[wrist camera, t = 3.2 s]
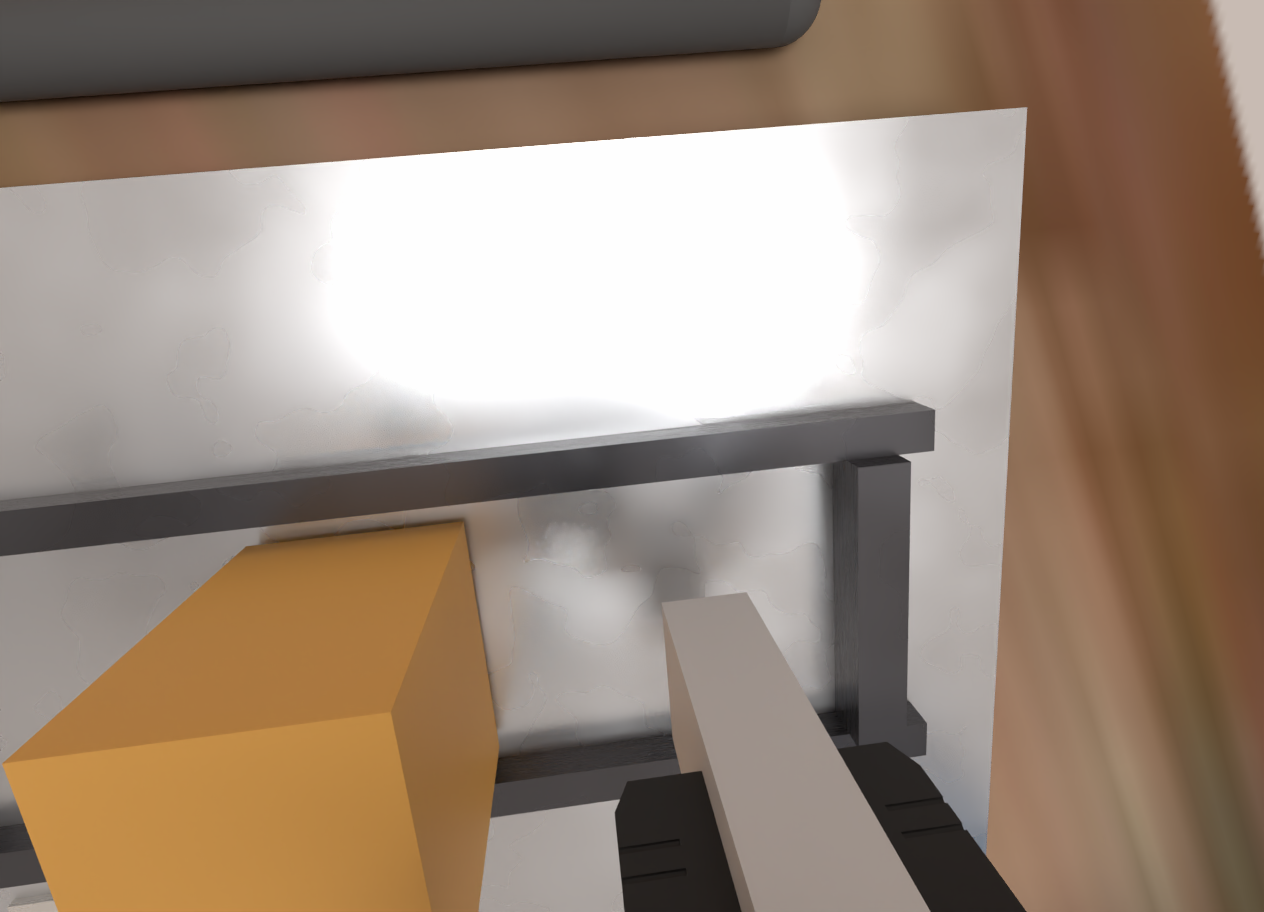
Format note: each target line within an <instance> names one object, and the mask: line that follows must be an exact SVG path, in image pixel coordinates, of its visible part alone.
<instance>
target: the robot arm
mask: <svg viewBox="0 0 1264 912" xmlns="http://www.w3.org/2000/svg"><path fill="white" fill-rule="evenodd" d="M661 604H662V616H663V628H664V640H665V652H666V664H667V676H668V688H669V701H670V713H671V725H672V737H673V742H674V746H675V750H676V754H677V759H678V763H679V767H680V771H681V774H675V775H668V776H661V777H654V778H647V779H640V780H633V781H627V783H626V786H625V788H624V791H623V793H622V796H621V798H620V801H619V803H618V805H617V808H616V810H615V823H616V833H617V843H618V852H619V862H620V872H621V882H622V892H623V902H624V912H1026V910H1025V909H1024V908H1023V906H1022V905H1021V904H1020V902H1019V901H1018V899H1017V898H1016V897H1015V895H1014V894H1013V892H1012V891H1011V890H1010V888H1009V887H1008V886H1007V884H1006V883H1005V881H1004V880H1003V879H1002V877H1001V876H1000V875H999V873H998V872H997V870H996V869H995V868H994V866H993V865H992V863H991V862H990V861H989V859H988V858H987V857H986V855H985V854H984V852H983V851H982V850H981V848H980V847H979V845H978V844H977V843H976V841H975V840H974V839H973V837H972V836H971V834H970V833H969V832H968V830H964V828H963V826H962V822H961V821H960V819H959V818H958V816H957V815H956V814H955V812H954V811H953V810H952V808H951V807H950V805H949V804H948V803H945V802H944V800H943V796H942V794H941V793H940V792H939V790H938V789H937V787H936V786H935V785H934V783H933V782H932V781H931V779H930V778H929V776H928V775H927V774H926V772H925V771H924V770H923V768H922V767H921V765H919V764H918V763H916V762H915V761H914V760H912V759H911V758H909V757H908V756H906V755H905V754H904V753H902V752H901V751H899V750H898V749H897V748H895V747H894V746H892V745H891V744H890V743H888V742H881V743H874V744H867V745H860V746H853V747H846V748H839V749H837V748H836V747H835V745H834V743H833V741H832V740H831V738H830V736H829V734H828V733H827V731H826V729H825V727H824V726H823V724H822V722H821V720H820V719H819V717H818V715H817V714H816V712H815V710H814V708H813V707H812V705H811V703H810V701H809V700H808V698H807V696H806V694H805V693H804V691H803V689H802V687H801V686H800V684H799V682H798V680H797V679H796V677H795V675H794V674H793V672H792V670H791V668H790V667H789V665H788V663H787V661H786V660H785V658H784V656H783V654H782V653H781V651H780V649H779V647H778V646H777V644H776V642H775V641H774V639H773V637H772V635H771V634H770V632H769V630H768V628H767V627H766V625H765V623H764V621H763V620H762V618H761V616H760V614H759V613H758V611H757V609H756V607H755V606H754V604H753V602H752V601H751V599H750V597H749V595H748V594H747V592H743V593H735V594H727V595H719V596H711V597H703V598H695V599H687V600H679V601H671V602H663V603H661Z"/></svg>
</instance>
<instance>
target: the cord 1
mask: <svg viewBox="0 0 1264 912" xmlns="http://www.w3.org/2000/svg"><path fill="white" fill-rule="evenodd" d="M820 2H821V0H0V102H8V101H22V100H36V99H50V98H64V97H79V96H93V95H107V94H121V93H135V92H150V91H164V90H178V89H192V88H206V87H220V86H235V85H249V84H263V83H277V82H291V81H306V80H320V79H334V78H348V77H362V76H377V75H391V74H405V73H419V72H433V71H447V70H462V69H476V68H490V67H504V66H518V65H533V64H547V63H561V62H575V61H589V60H604V59H618V58H632V57H646V56H660V55H674V54H689V53H703V52H717V51H731V50H745V49H760V48H774V47H781V46H785V45H788V44H790V43H792V42H794V41H796V40H797V39H798V38H800V37H801V36H802V35H803V34H804V33H805V32H806V31H807V30H808V29H809V28H810V26H811V25H812V23H813V22H814V20H815V18H816V15H817V13H818V10H819V7H820Z"/></svg>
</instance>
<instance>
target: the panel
mask: <svg viewBox="0 0 1264 912" xmlns="http://www.w3.org/2000/svg"><path fill="white" fill-rule="evenodd" d="M1026 118H1027V107H1025V108H1013V109H1000V110H987V111H974V112H962V113H949V114H936V115H923V116H911V117H898V118H885V119H872V120H860V121H847V122H834V123H822V124H809V125H796V126H783V127H771V128H758V129H745V130H732V131H720V132H707V133H694V134H681V135H669V136H656V137H643V138H631V139H618V140H605V141H592V142H580V143H567V144H554V145H541V146H529V147H516V148H503V149H490V150H478V151H465V152H452V153H440V154H427V155H414V156H401V157H389V158H376V159H363V160H350V161H338V162H325V163H312V164H299V165H287V166H274V167H261V168H249V169H236V170H223V171H210V172H198V173H185V174H172V175H159V176H147V177H134V178H121V179H109V180H96V181H83V182H70V183H58V184H45V185H32V186H19V187H7V188H0V912H58V910H57V907H56V905H55V902H54V899H53V897H52V894H51V892H50V889H49V886H48V884H47V881H46V878H45V876H44V873H43V871H42V868H41V865H40V863H39V860H38V857H37V855H36V852H35V849H34V847H33V844H32V842H31V839H30V836H29V834H28V831H27V828H26V826H25V823H24V821H23V818H22V815H21V813H20V810H19V807H18V805H17V802H16V799H15V797H14V794H13V792H12V789H11V786H10V784H9V781H8V778H7V776H6V773H5V771H4V768H3V765H2V763H3V762H4V761H6V760H7V759H8V758H9V757H10V756H11V755H12V754H13V753H15V752H16V751H17V750H18V749H19V748H20V747H21V746H22V745H23V744H25V743H26V742H27V741H28V740H29V739H30V738H31V737H32V736H34V735H35V734H36V733H37V732H38V731H39V730H40V729H41V728H43V727H44V726H45V725H46V724H47V723H48V722H49V721H50V720H52V719H53V718H54V717H55V716H56V715H57V714H58V713H59V712H61V711H62V710H63V709H64V708H65V707H66V706H67V705H68V704H70V703H71V702H72V701H73V700H74V699H75V698H76V697H77V696H79V695H80V694H81V693H82V692H83V691H84V690H85V689H86V688H88V687H89V686H90V685H91V684H92V683H93V682H94V681H95V680H96V679H98V678H99V677H100V676H101V675H102V674H103V673H104V672H105V671H107V670H108V669H109V668H110V667H111V666H112V665H113V664H114V663H116V662H117V661H118V660H119V659H120V658H121V657H122V656H123V655H125V654H126V653H127V652H128V651H129V650H130V649H131V648H132V647H134V646H135V645H136V644H137V643H138V642H139V641H140V640H141V639H143V638H144V637H145V636H146V635H147V634H148V633H149V632H150V631H152V630H153V629H154V628H155V627H156V626H157V625H158V624H159V623H161V622H162V621H163V620H164V619H165V618H166V617H167V616H168V615H170V614H171V613H172V612H173V611H174V610H175V609H176V608H177V607H178V606H180V605H181V604H182V603H183V602H184V601H185V600H186V599H187V598H189V597H190V596H191V595H192V594H193V593H194V592H195V591H196V590H198V589H199V588H200V587H201V586H202V585H203V584H204V583H205V582H207V581H208V580H209V579H210V578H211V577H212V576H213V575H214V574H216V573H217V572H218V571H219V570H220V569H221V568H222V567H223V566H225V565H226V564H227V563H228V562H229V561H230V560H231V559H232V558H234V557H235V556H236V555H237V554H238V553H239V552H240V551H241V550H243V549H244V548H245V547H246V546H253V545H262V544H271V543H279V542H288V541H297V540H305V539H314V538H323V537H332V536H340V535H349V534H358V533H366V532H375V531H384V530H393V529H401V528H410V527H419V526H427V525H436V524H445V523H454V522H462V521H464V528H465V534H466V540H467V546H468V553H469V559H470V565H471V571H472V578H473V584H474V590H475V596H476V603H477V609H478V615H479V621H480V628H481V634H482V640H483V646H484V653H485V659H486V665H487V671H488V678H489V684H490V690H491V696H492V703H493V709H494V715H495V722H496V728H497V734H498V740H499V754H498V762H497V770H496V777H495V785H494V793H493V801H492V809H491V817H490V825H489V832H488V840H487V848H486V856H485V864H484V872H483V879H482V887H481V895H480V903H479V911H478V912H624V902H623V892H622V882H621V872H620V862H619V852H618V843H617V833H616V823H615V810H616V808H617V805H618V803H619V801H620V798H621V796H622V793H623V791H624V788H625V786H626V783H627V781H633V780H640V779H647V778H654V777H661V776H668V775H675V774H681V771H680V767H679V763H678V759H677V754H676V750H675V746H674V742H673V737H672V725H671V713H670V701H669V688H668V676H667V664H666V652H665V640H664V628H663V616H662V604H661V603H663V602H671V601H679V600H687V599H695V598H703V597H711V596H719V595H727V594H735V593H743V592H747V594H748V595H749V597H750V599H751V601H752V602H753V604H754V606H755V607H756V609H757V611H758V613H759V614H760V616H761V618H762V620H763V621H764V623H765V625H766V627H767V628H768V630H769V632H770V634H771V635H772V637H773V639H774V641H775V642H776V644H777V646H778V647H779V649H780V651H781V653H782V654H783V656H784V658H785V660H786V661H787V663H788V665H789V667H790V668H791V670H792V672H793V674H794V675H795V677H796V679H797V680H798V682H799V684H800V686H801V687H802V689H803V691H804V693H805V694H806V696H807V698H808V700H809V701H810V703H811V705H812V707H813V708H814V710H815V712H816V714H817V715H818V717H819V719H820V720H821V722H822V724H823V726H824V727H825V729H826V731H827V733H828V734H829V736H830V738H831V740H832V741H833V743H834V745H835V747H836V748H837V749H839V748H846V747H853V746H860V745H867V744H874V743H881V742H888V743H890V744H891V745H892V746H894V747H895V748H897V749H898V750H899V751H901V752H902V753H904V754H905V755H906V756H908V757H909V758H911V759H912V760H914V761H915V762H916V763H918V764H919V765H921V767H922V768H923V770H924V771H925V772H926V774H927V775H928V776H929V778H930V779H931V781H932V782H933V783H934V785H935V786H936V787H937V789H938V790H939V792H940V793H941V794H942V796H943V800H944V802H945V803H948V804H949V805H950V807H951V808H952V810H953V811H954V812H955V814H956V815H957V816H958V818H959V819H960V821H961V822H962V826H963V828H964V830H968V832H969V833H970V834H971V836H972V837H973V839H974V840H975V841H976V843H977V844H978V845H979V847H980V848H981V850H982V851H983V852H984V854H985V855H986V846H987V827H988V809H989V791H990V773H991V755H992V736H993V718H994V700H995V682H996V664H997V645H998V627H999V609H1000V591H1001V573H1002V554H1003V536H1004V518H1005V500H1006V482H1007V464H1008V445H1009V427H1010V409H1011V391H1012V373H1013V354H1014V336H1015V318H1016V300H1017V282H1018V263H1019V245H1020V227H1021V209H1022V191H1023V172H1024V154H1025V136H1026Z"/></svg>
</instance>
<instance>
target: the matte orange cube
mask: <svg viewBox="0 0 1264 912" xmlns="http://www.w3.org/2000/svg"><path fill="white" fill-rule="evenodd" d="M498 754H499V740H498V734H497V728H496V722H495V715H494V709H493V703H492V696H491V690H490V684H489V678H488V671H487V665H486V659H485V653H484V646H483V640H482V634H481V628H480V621H479V615H478V609H477V603H476V596H475V590H474V584H473V578H472V571H471V565H470V559H469V553H468V546H467V540H466V534H465V528H464V521H462V522H454V523H445V524H436V525H427V526H419V527H410V528H401V529H393V530H384V531H375V532H366V533H358V534H349V535H340V536H332V537H323V538H314V539H305V540H297V541H288V542H279V543H271V544H262V545H253V546H246V547H245V548H244V549H243V550H241V551H240V552H239V553H238V554H237V555H236V556H235V557H234V558H232V559H231V560H230V561H229V562H228V563H227V564H226V565H225V566H223V567H222V568H221V569H220V570H219V571H218V572H217V573H216V574H214V575H213V576H212V577H211V578H210V579H209V580H208V581H207V582H205V583H204V584H203V585H202V586H201V587H200V588H199V589H198V590H196V591H195V592H194V593H193V594H192V595H191V596H190V597H189V598H187V599H186V600H185V601H184V602H183V603H182V604H181V605H180V606H178V607H177V608H176V609H175V610H174V611H173V612H172V613H171V614H170V615H168V616H167V617H166V618H165V619H164V620H163V621H162V622H161V623H159V624H158V625H157V626H156V627H155V628H154V629H153V630H152V631H150V632H149V633H148V634H147V635H146V636H145V637H144V638H143V639H141V640H140V641H139V642H138V643H137V644H136V645H135V646H134V647H132V648H131V649H130V650H129V651H128V652H127V653H126V654H125V655H123V656H122V657H121V658H120V659H119V660H118V661H117V662H116V663H114V664H113V665H112V666H111V667H110V668H109V669H108V670H107V671H105V672H104V673H103V674H102V675H101V676H100V677H99V678H98V679H96V680H95V681H94V682H93V683H92V684H91V685H90V686H89V687H88V688H86V689H85V690H84V691H83V692H82V693H81V694H80V695H79V696H77V697H76V698H75V699H74V700H73V701H72V702H71V703H70V704H68V705H67V706H66V707H65V708H64V709H63V710H62V711H61V712H59V713H58V714H57V715H56V716H55V717H54V718H53V719H52V720H50V721H49V722H48V723H47V724H46V725H45V726H44V727H43V728H41V729H40V730H39V731H38V732H37V733H36V734H35V735H34V736H32V737H31V738H30V739H29V740H28V741H27V742H26V743H25V744H23V745H22V746H21V747H20V748H19V749H18V750H17V751H16V752H15V753H13V754H12V755H11V756H10V757H9V758H8V759H7V760H6V761H4V762H3V763H2V765H3V768H4V771H5V773H6V776H7V778H8V781H9V784H10V786H11V789H12V792H13V794H14V797H15V799H16V802H17V805H18V807H19V810H20V813H21V815H22V818H23V821H24V823H25V826H26V828H27V831H28V834H29V836H30V839H31V842H32V844H33V847H34V849H35V852H36V855H37V857H38V860H39V863H40V865H41V868H42V871H43V873H44V876H45V878H46V881H47V884H48V886H49V889H50V892H51V894H52V897H53V899H54V902H55V905H56V907H57V910H58V912H478V911H479V903H480V895H481V887H482V879H483V872H484V864H485V856H486V848H487V840H488V832H489V825H490V817H491V809H492V801H493V793H494V785H495V777H496V770H497V762H498Z"/></svg>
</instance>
